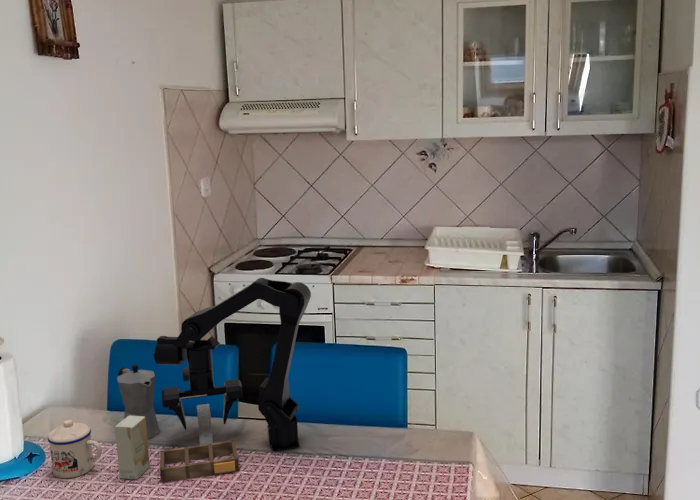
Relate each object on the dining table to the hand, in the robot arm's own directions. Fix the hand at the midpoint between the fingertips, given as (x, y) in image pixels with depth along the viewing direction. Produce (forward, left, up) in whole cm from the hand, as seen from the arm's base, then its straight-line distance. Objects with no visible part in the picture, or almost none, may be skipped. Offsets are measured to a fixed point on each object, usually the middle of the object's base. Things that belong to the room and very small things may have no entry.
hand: (205, 426), depth 168 cm
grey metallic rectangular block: (0, 0, -4) cm, 4 cm away
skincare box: (+16, +11, -4) cm, 20 cm away
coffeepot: (+16, -10, -4) cm, 19 cm away
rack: (+2, +13, -4) cm, 14 cm away
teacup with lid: (+28, +6, -4) cm, 29 cm away
